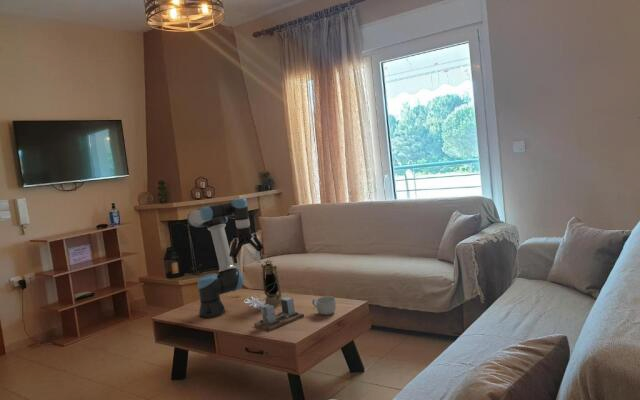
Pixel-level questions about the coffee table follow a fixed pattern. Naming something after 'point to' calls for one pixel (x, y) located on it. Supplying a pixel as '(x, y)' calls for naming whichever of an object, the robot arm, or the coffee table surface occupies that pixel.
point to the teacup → (325, 305)
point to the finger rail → (275, 318)
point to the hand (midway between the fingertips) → (248, 265)
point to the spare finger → (287, 306)
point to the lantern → (271, 284)
